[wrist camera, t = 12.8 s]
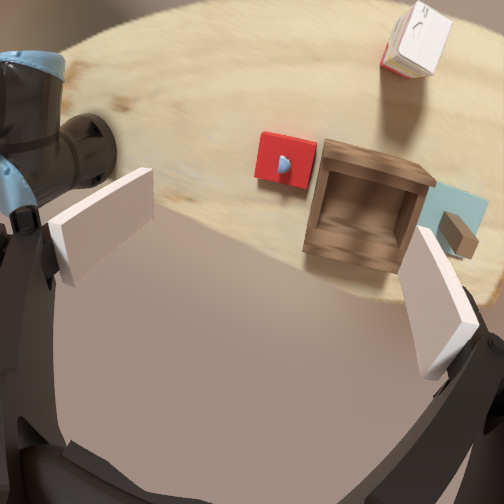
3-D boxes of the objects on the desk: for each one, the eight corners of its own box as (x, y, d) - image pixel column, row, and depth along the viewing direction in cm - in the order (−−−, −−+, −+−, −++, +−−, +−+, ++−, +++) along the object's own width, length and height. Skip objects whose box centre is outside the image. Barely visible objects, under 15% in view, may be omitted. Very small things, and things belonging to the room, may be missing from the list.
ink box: (408, 80, 34) (434, 78, 24) (378, 65, 34) (395, 56, 24) (426, 35, 29) (455, 20, 19) (396, 19, 29) (416, -3, 19)
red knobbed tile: (317, 142, 42) (315, 149, 37) (307, 183, 46) (304, 197, 41) (264, 131, 43) (255, 137, 38) (258, 172, 47) (248, 184, 42)
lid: (402, 238, 46) (415, 271, 38) (423, 176, 40) (444, 198, 32) (462, 255, 44) (482, 288, 36) (485, 199, 38) (513, 224, 30)
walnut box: (307, 224, 49) (302, 251, 42) (325, 138, 41) (324, 149, 34) (392, 245, 47) (401, 275, 39) (418, 164, 39) (437, 181, 32)
